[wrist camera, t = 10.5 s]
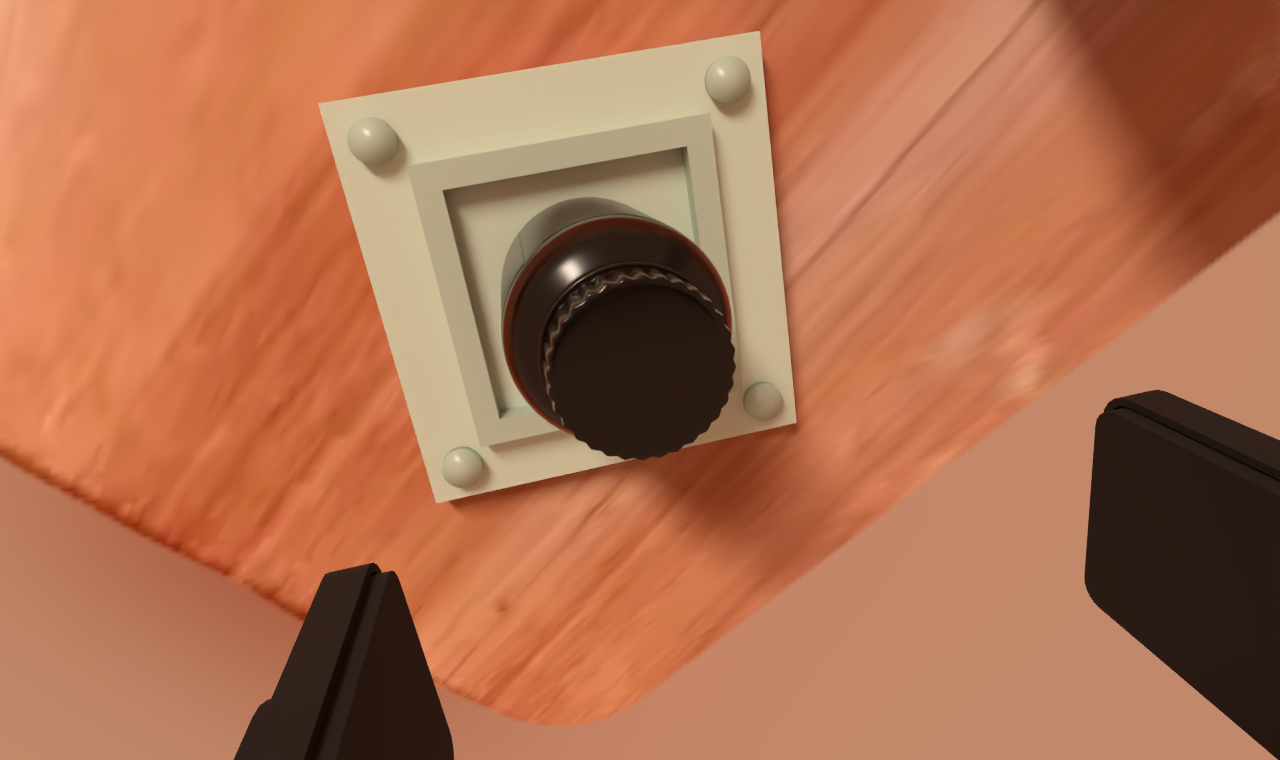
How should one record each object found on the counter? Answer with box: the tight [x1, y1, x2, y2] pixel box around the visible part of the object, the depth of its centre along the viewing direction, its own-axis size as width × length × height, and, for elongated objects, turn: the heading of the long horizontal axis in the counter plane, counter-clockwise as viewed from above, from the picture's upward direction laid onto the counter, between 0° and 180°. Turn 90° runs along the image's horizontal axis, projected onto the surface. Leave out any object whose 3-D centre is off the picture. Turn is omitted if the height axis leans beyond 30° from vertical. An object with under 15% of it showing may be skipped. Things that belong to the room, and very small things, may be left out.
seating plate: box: [318, 31, 797, 503], centre depth 29 cm, size 16×16×2 cm
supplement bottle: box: [501, 197, 736, 460], centre depth 23 cm, size 7×7×12 cm
